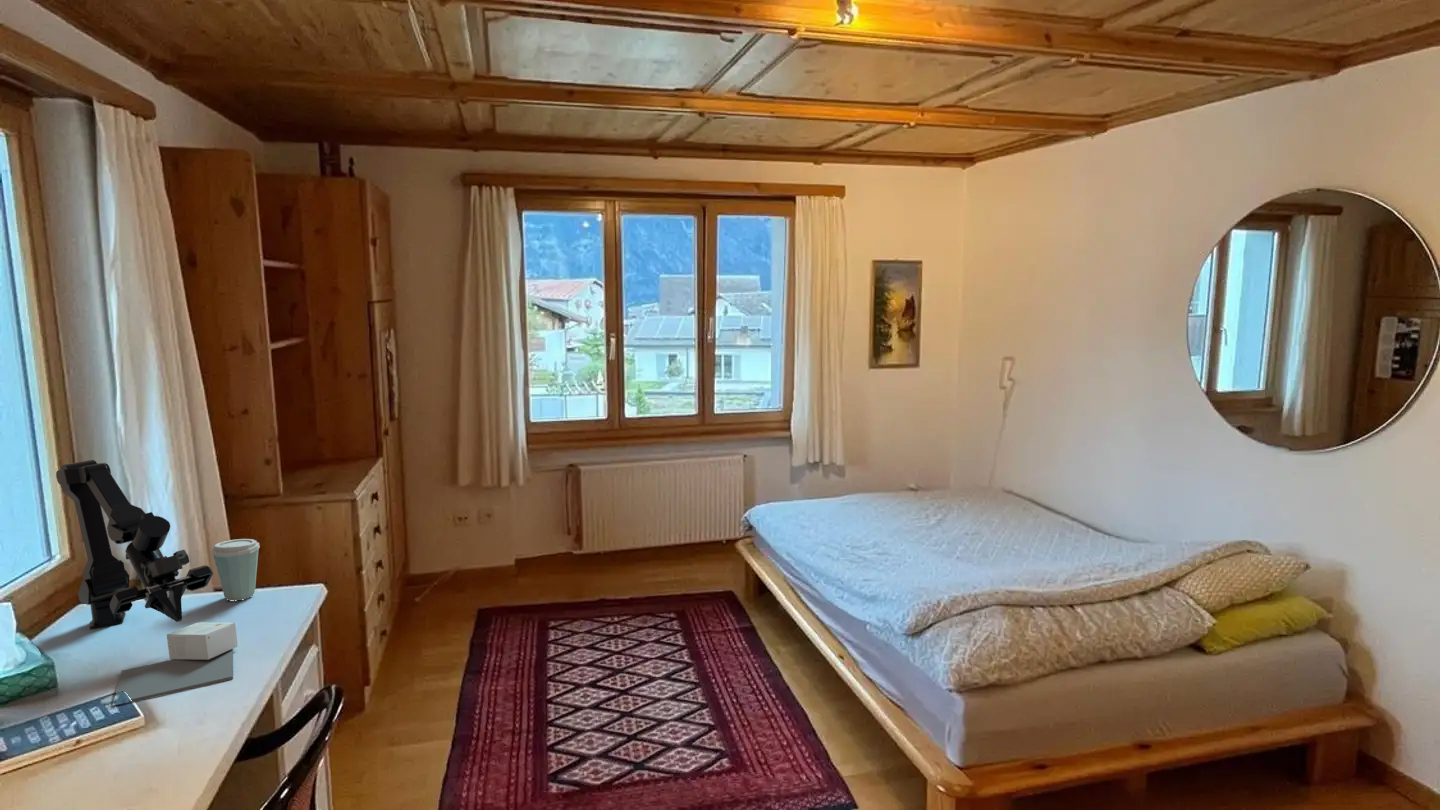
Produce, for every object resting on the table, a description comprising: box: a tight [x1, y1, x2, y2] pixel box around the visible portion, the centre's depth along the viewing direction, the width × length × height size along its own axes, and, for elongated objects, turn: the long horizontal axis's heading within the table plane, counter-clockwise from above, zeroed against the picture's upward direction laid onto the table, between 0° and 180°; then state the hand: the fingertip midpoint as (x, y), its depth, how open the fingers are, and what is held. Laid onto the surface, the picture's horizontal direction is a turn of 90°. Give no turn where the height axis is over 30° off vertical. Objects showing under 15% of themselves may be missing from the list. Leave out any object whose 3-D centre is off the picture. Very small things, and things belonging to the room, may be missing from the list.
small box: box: [166, 621, 238, 660], centre depth 177 cm, size 8×6×10 cm
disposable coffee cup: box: [211, 538, 261, 602], centre depth 209 cm, size 11×11×15 cm
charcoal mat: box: [115, 648, 234, 703], centre depth 168 cm, size 16×20×1 cm
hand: (179, 620), depth 175 cm, fingers closed
